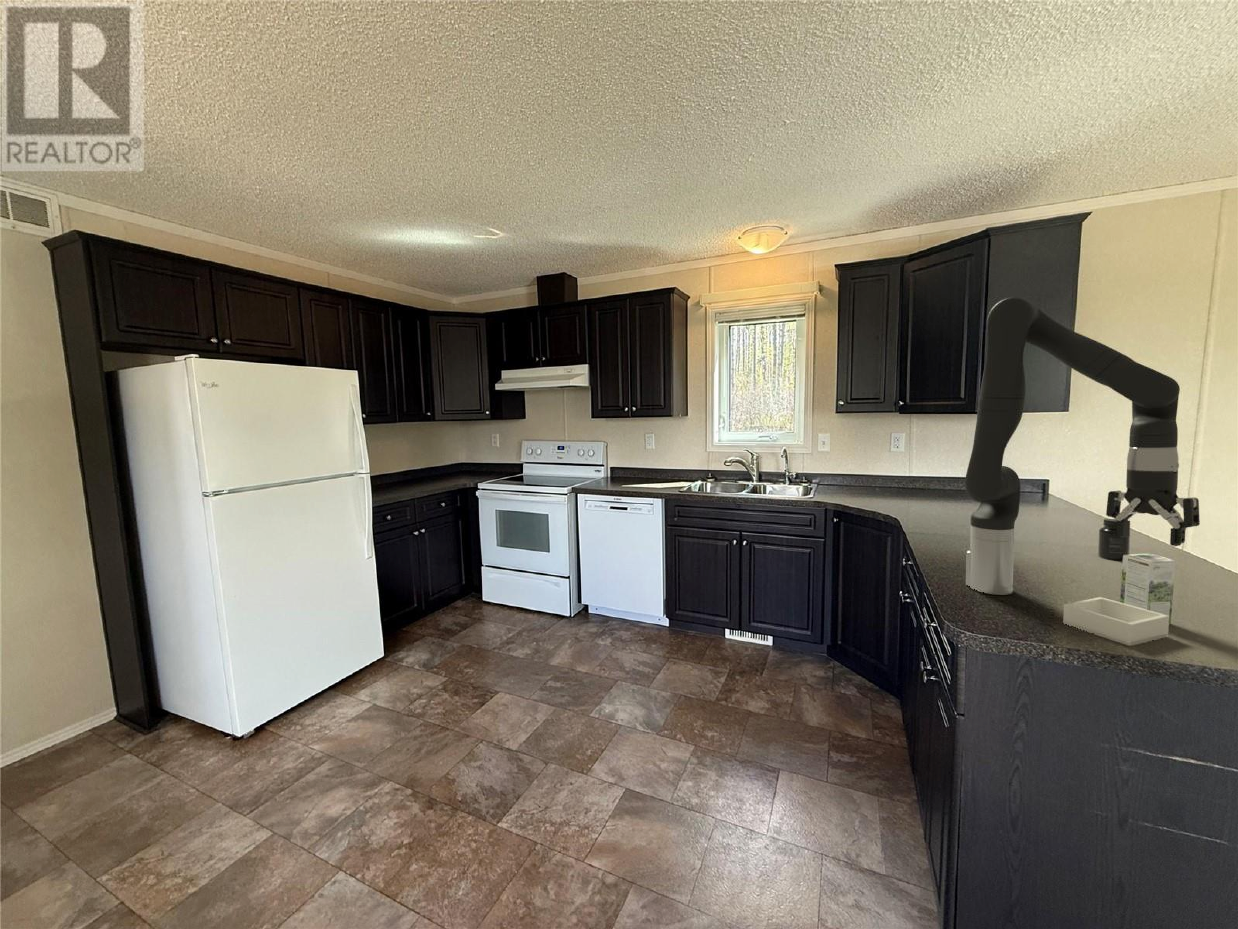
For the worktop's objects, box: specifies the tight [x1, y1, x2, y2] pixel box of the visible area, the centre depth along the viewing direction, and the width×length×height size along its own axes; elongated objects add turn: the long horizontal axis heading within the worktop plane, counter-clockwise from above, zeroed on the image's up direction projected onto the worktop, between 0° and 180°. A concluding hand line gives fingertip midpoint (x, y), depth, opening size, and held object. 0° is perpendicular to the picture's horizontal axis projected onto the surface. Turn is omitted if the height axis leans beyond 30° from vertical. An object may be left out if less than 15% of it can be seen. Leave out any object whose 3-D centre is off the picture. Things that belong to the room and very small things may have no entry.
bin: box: [1062, 596, 1169, 647], centre depth 104 cm, size 12×12×4 cm
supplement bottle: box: [1097, 518, 1131, 561], centre depth 151 cm, size 7×7×12 cm
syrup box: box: [1119, 553, 1177, 624], centre depth 108 cm, size 6×6×14 cm
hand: (1149, 541), depth 107 cm, fingers open, 8 cm apart
